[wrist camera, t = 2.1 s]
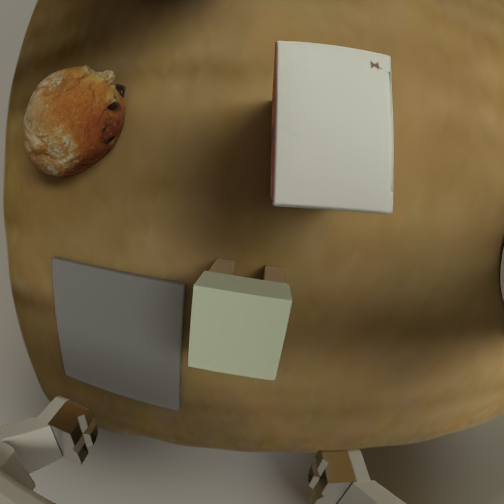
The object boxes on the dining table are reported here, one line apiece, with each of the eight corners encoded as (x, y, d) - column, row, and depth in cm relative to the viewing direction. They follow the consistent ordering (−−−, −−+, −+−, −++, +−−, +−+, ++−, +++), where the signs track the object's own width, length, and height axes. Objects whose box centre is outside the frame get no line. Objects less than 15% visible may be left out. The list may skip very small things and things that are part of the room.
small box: (271, 98, 21) (274, 34, 11) (342, 104, 21) (392, 51, 10) (268, 199, 23) (268, 207, 12) (340, 203, 22) (394, 216, 12)
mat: (185, 283, 24) (183, 285, 24) (179, 407, 27) (178, 411, 27) (55, 256, 25) (51, 257, 24) (68, 372, 28) (65, 375, 27)
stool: (285, 266, 24) (292, 300, 16) (273, 328, 25) (274, 380, 17) (216, 255, 24) (193, 285, 16) (209, 318, 25) (187, 366, 18)
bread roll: (75, 96, 25) (12, 96, 18) (133, 49, 20) (54, 34, 13) (83, 181, 27) (15, 192, 20) (143, 152, 22) (53, 157, 15)
